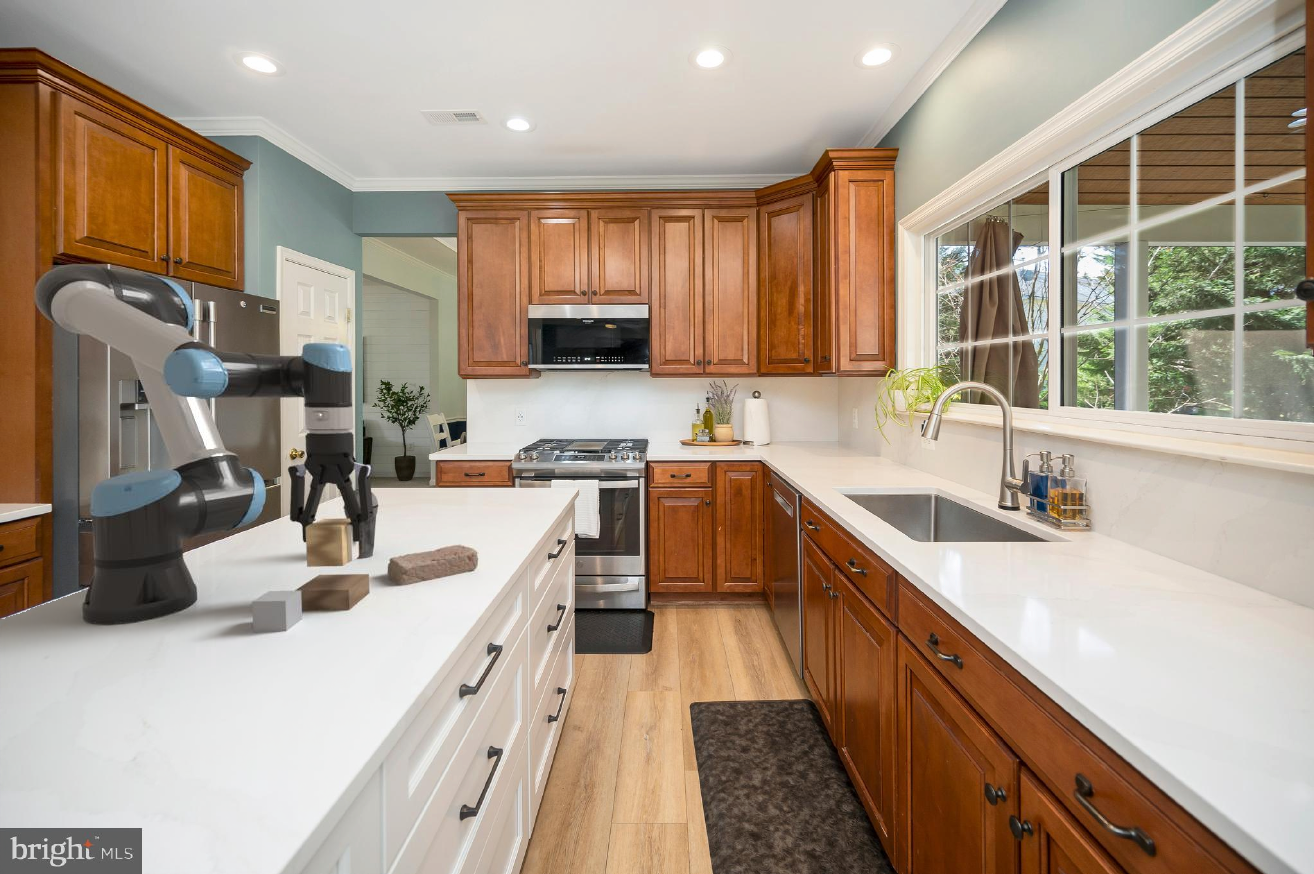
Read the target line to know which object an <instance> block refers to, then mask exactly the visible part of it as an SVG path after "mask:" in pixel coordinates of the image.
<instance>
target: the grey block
mask: <svg viewBox="0 0 1314 874" xmlns="http://www.w3.org/2000/svg"><path fill="white" fill-rule="evenodd" d="M251 602H252V603H251V608H252V610H251V611H252V631H253V633H257V632H258V633H259V632H265V633H266V632H287V631H289V630H290V629H291V628H293V627H294V626H296V625H297V624H298V623H300V622H301V621H302V620H303V611H302V602H301V591H295V590H269V591H267V592H266V593H264V594H262V595H260V596H259V597H257V598H255V599H254V600H253V601H251Z"/></svg>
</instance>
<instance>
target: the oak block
mask: <svg viewBox="0 0 1314 874" xmlns="http://www.w3.org/2000/svg"><path fill="white" fill-rule="evenodd" d="M313 523H314V524H311V525H309V526H307V527H306V542H305V543H306V544H305V546H306V550H305V551H306V567H308V568H311V567H313V568H316V567H344V566H345V565H346V564H349V563H350V562H351V561H348V546H347V525H348V524H350V523H351V520H350V518H346V517H345V518H323V519H320V520H319V521H318V520H317V521H316V522H313ZM358 556H359V542H358Z"/></svg>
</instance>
